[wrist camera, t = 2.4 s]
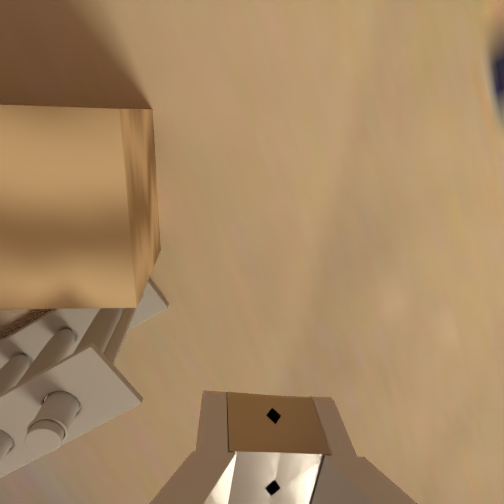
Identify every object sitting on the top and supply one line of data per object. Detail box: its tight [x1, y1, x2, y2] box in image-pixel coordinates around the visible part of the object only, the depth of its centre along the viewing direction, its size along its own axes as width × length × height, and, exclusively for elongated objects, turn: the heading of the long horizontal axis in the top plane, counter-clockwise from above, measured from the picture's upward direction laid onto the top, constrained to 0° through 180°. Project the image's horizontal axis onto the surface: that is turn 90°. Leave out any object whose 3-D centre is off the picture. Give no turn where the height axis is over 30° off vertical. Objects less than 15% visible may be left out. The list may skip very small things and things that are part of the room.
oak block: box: [0, 104, 161, 309], centre depth 22 cm, size 10×14×9 cm
